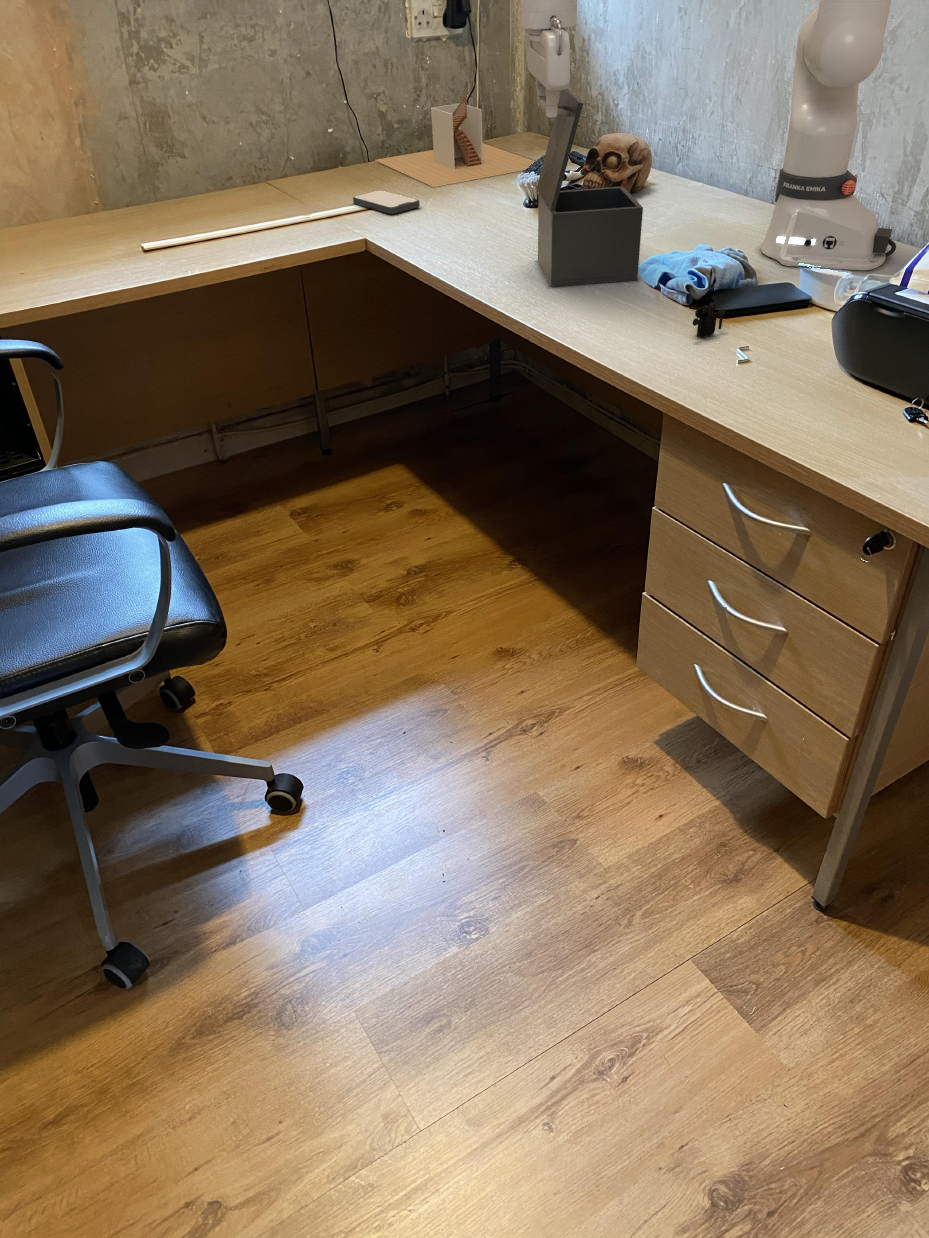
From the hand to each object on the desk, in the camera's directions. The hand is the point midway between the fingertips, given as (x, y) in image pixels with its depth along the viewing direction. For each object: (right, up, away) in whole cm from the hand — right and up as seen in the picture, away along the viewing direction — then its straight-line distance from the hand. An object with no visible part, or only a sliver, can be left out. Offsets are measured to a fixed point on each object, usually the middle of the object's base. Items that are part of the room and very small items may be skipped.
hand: (547, 112), depth 151 cm
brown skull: (+20, +13, +57) cm, 61 cm away
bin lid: (+3, -4, +4) cm, 6 cm away
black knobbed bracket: (+24, -40, -8) cm, 47 cm away
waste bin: (+9, -20, +17) cm, 28 cm away
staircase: (-15, +35, +86) cm, 94 cm away
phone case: (-32, +10, +57) cm, 66 cm away
